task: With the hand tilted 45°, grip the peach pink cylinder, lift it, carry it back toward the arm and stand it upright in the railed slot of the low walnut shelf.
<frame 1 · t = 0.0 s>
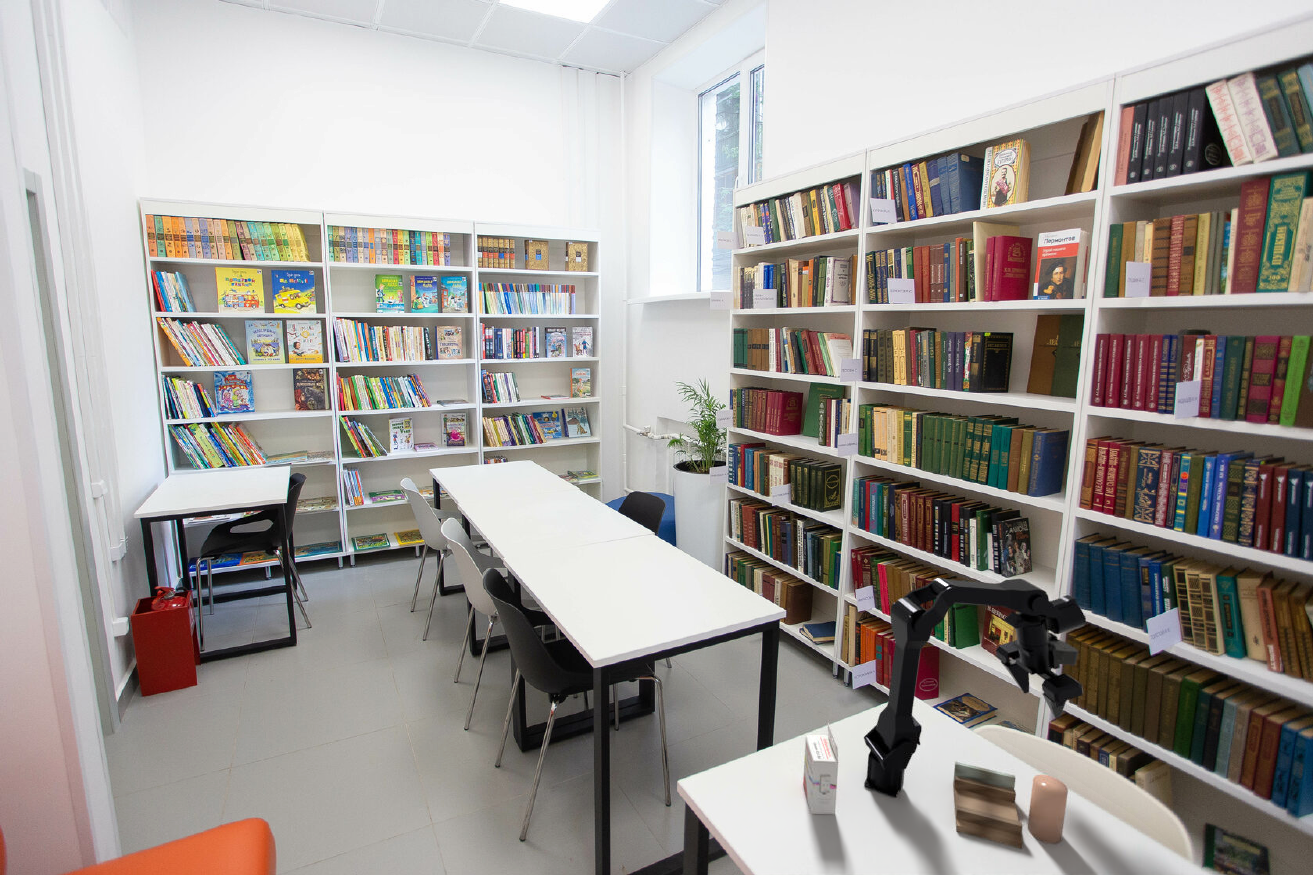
hand: (1041, 704, 138), 15 cm above the table, tool pointing down, fingers open, 9 cm apart
walnut shelf: (985, 814, 128), on the table
ink cartridge box: (818, 800, 131), on the table
peach pink cylinder: (1044, 832, 123), on the table
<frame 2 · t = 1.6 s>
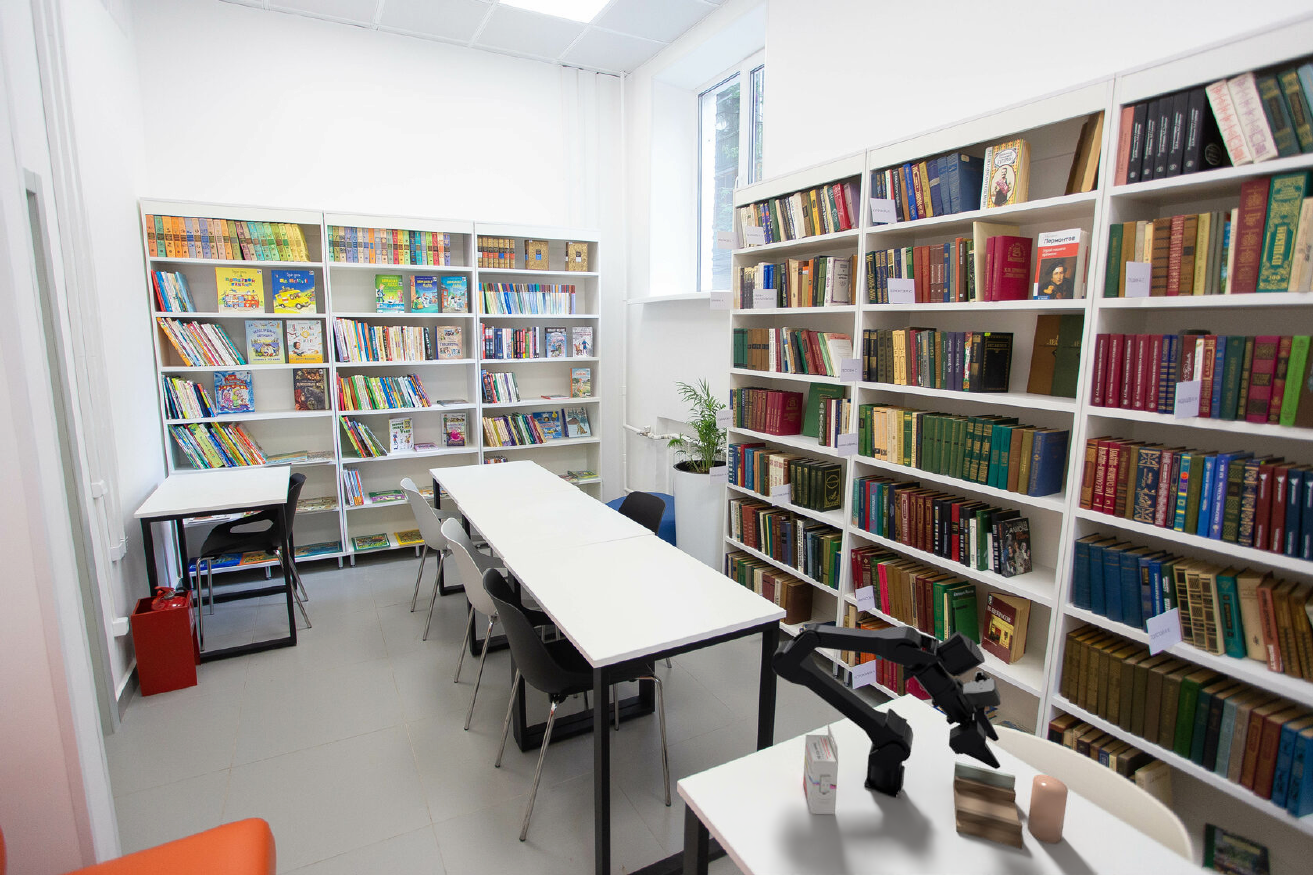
hand: (997, 753, 125), 14 cm above the table, tool tilted 45°, fingers open, 9 cm apart
nothing on the table moved.
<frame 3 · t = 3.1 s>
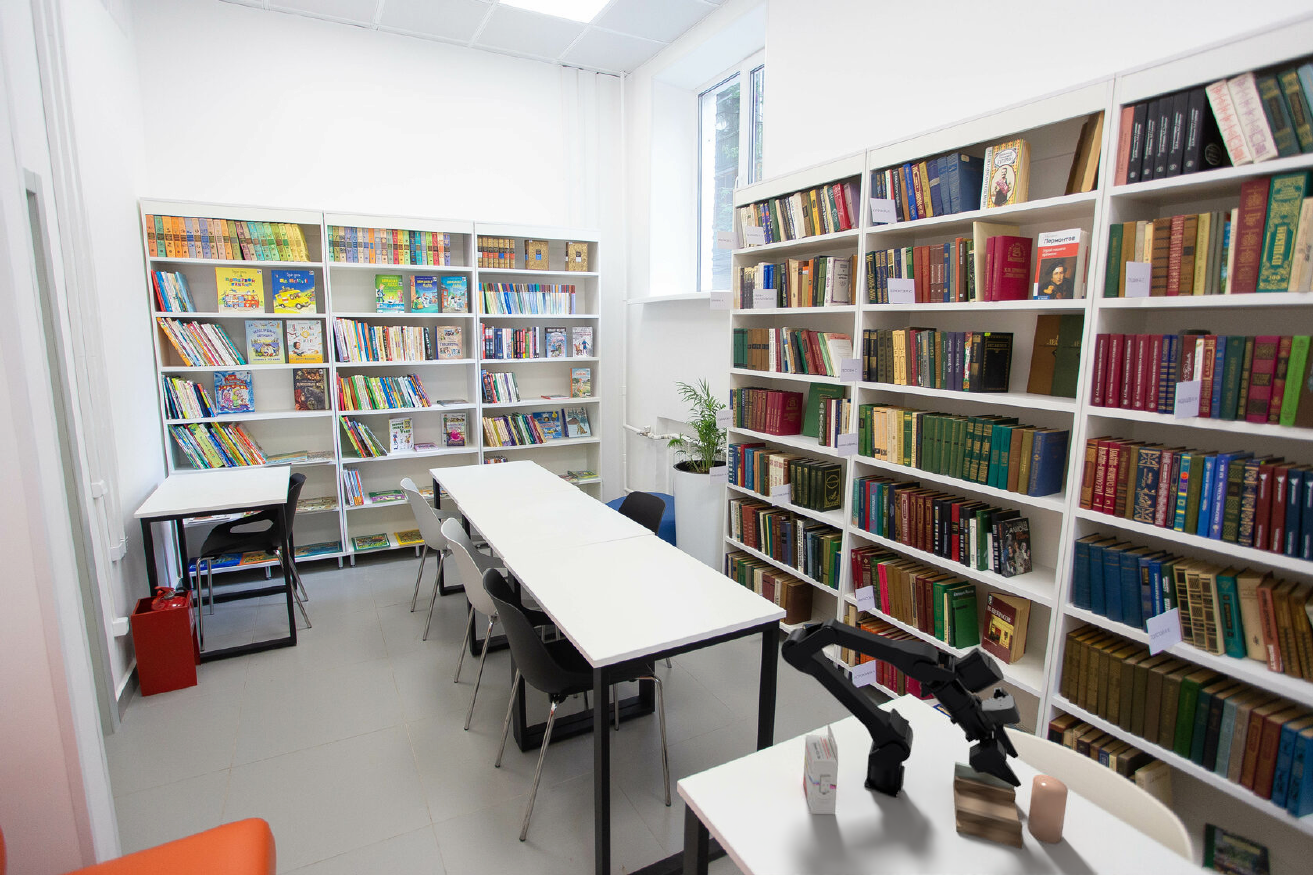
hand: (1017, 770, 124), 11 cm above the table, tool tilted 45°, fingers open, 9 cm apart
nothing on the table moved.
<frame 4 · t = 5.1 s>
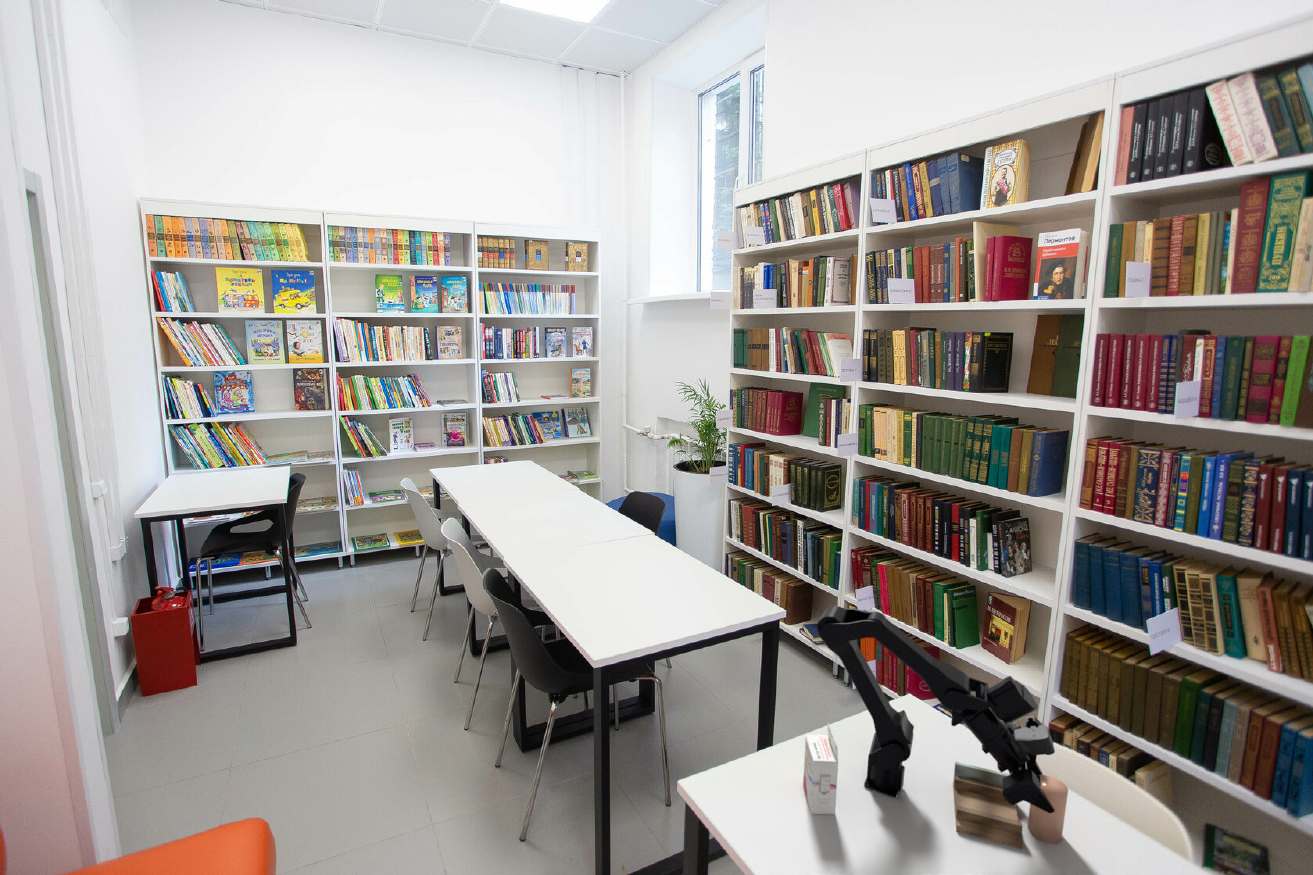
hand: (1050, 801, 122), 7 cm above the table, tool tilted 45°, fingers closed on peach pink cylinder, 6 cm apart
peach pink cylinder: (1044, 831, 123), on the table, touching gripper
everything else where it was.
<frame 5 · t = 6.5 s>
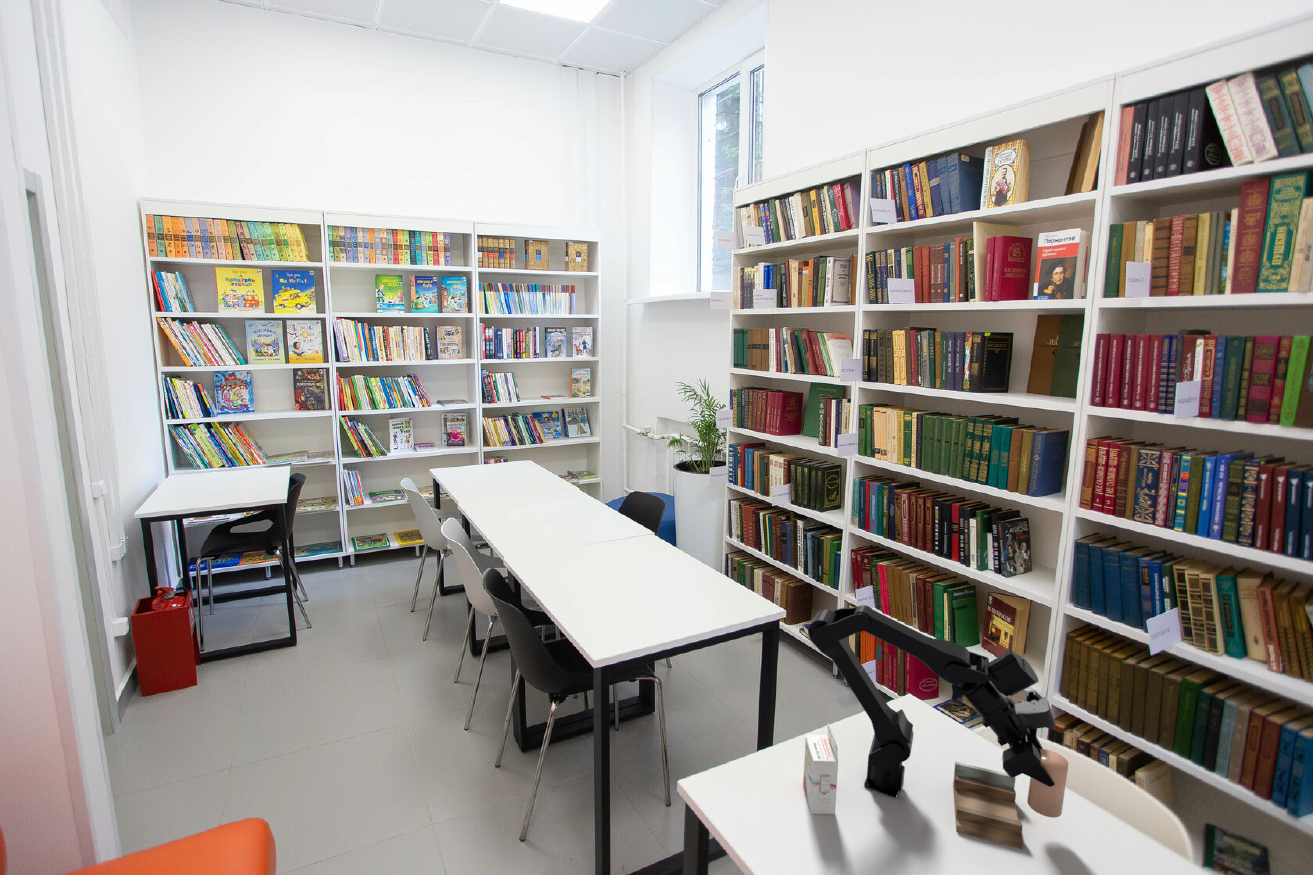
hand: (1050, 775, 121), 12 cm above the table, tool tilted 45°, fingers closed on peach pink cylinder, 6 cm apart
peach pink cylinder: (1044, 806, 123), point 5 cm above the table, touching gripper
everything else where it was.
when the fingers open (9 cm above the table, at t = 8.4 s): peach pink cylinder drops 1 cm, resting on walnut shelf.
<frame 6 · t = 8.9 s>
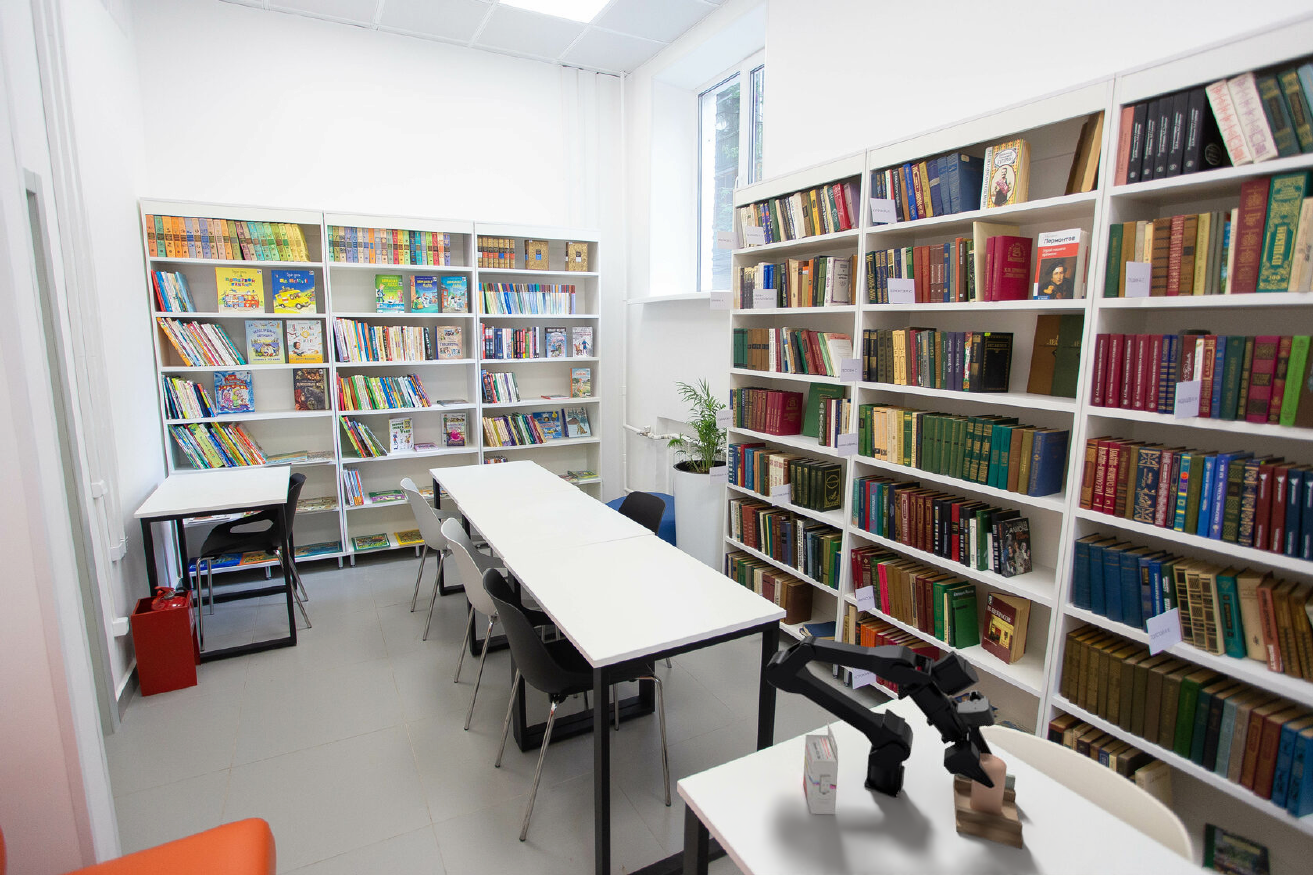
hand: (992, 772, 126), 9 cm above the table, tool tilted 45°, fingers open, 9 cm apart
peach pink cylinder: (985, 808, 127), point 1 cm above the table, touching walnut shelf
everything else where it was.
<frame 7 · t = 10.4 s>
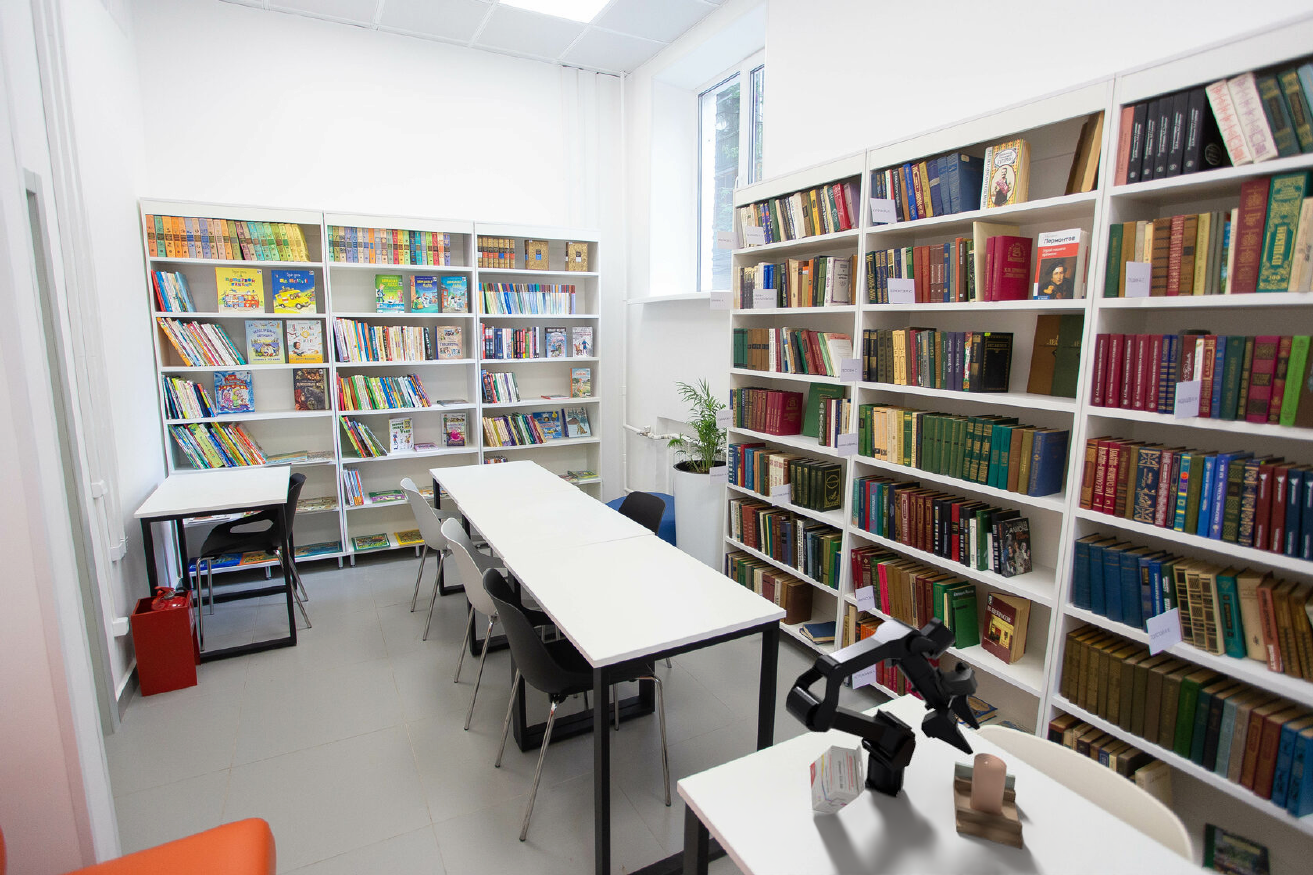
hand: (974, 740, 129), 13 cm above the table, tool tilted 45°, fingers open, 9 cm apart
ink cartridge box: (821, 789, 130), point 3 cm above the table
everything else where it was.
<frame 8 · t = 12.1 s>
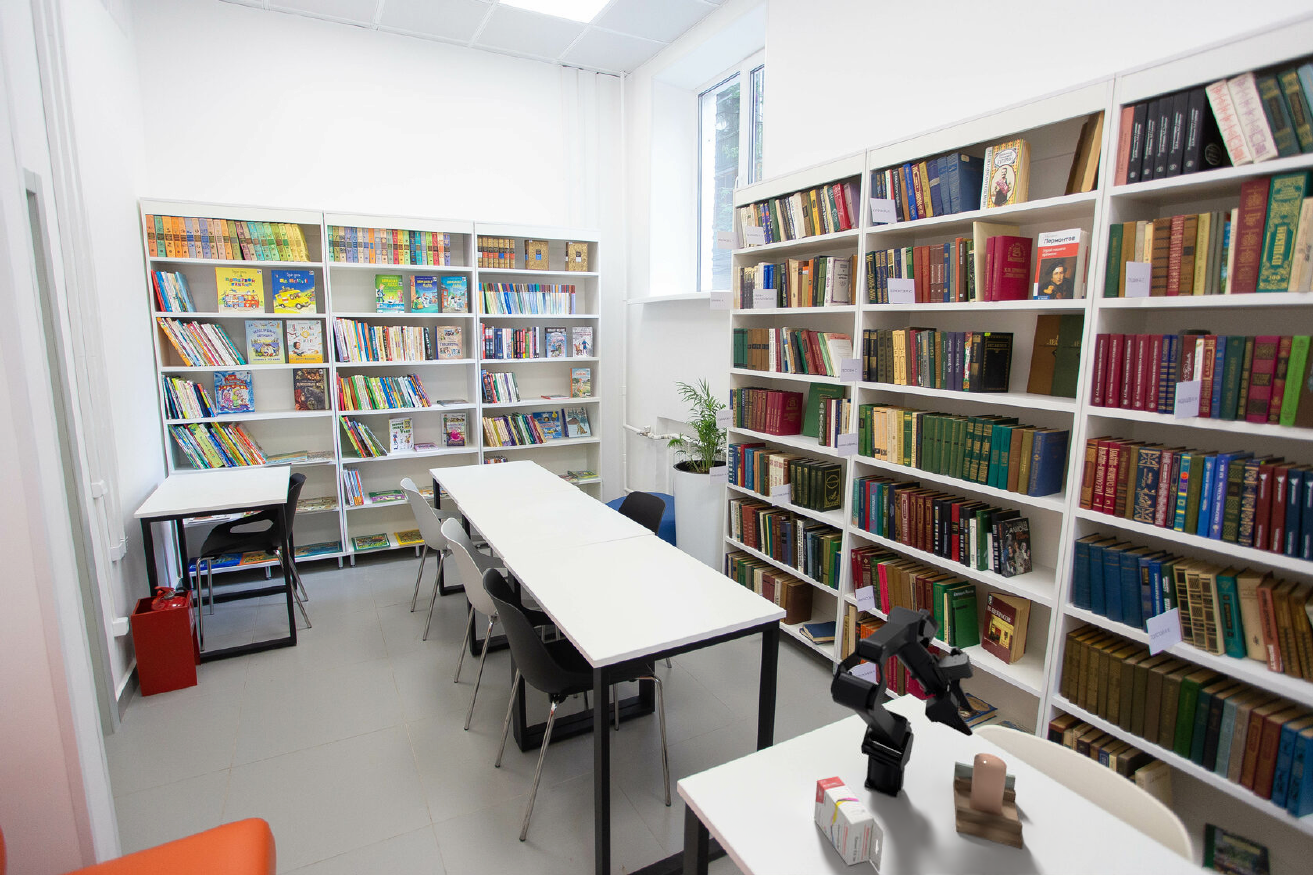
hand: (971, 722, 135), 14 cm above the table, tool tilted 45°, fingers open, 9 cm apart
ink cartridge box: (824, 796, 126), point 4 cm above the table
everything else where it was.
at the end: peach pink cylinder 0.1 cm off-centre on the walnut shelf, point 1.2 cm above the walnut shelf's base; peach pink cylinder tilted 0°; the gripper is holding nothing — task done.
